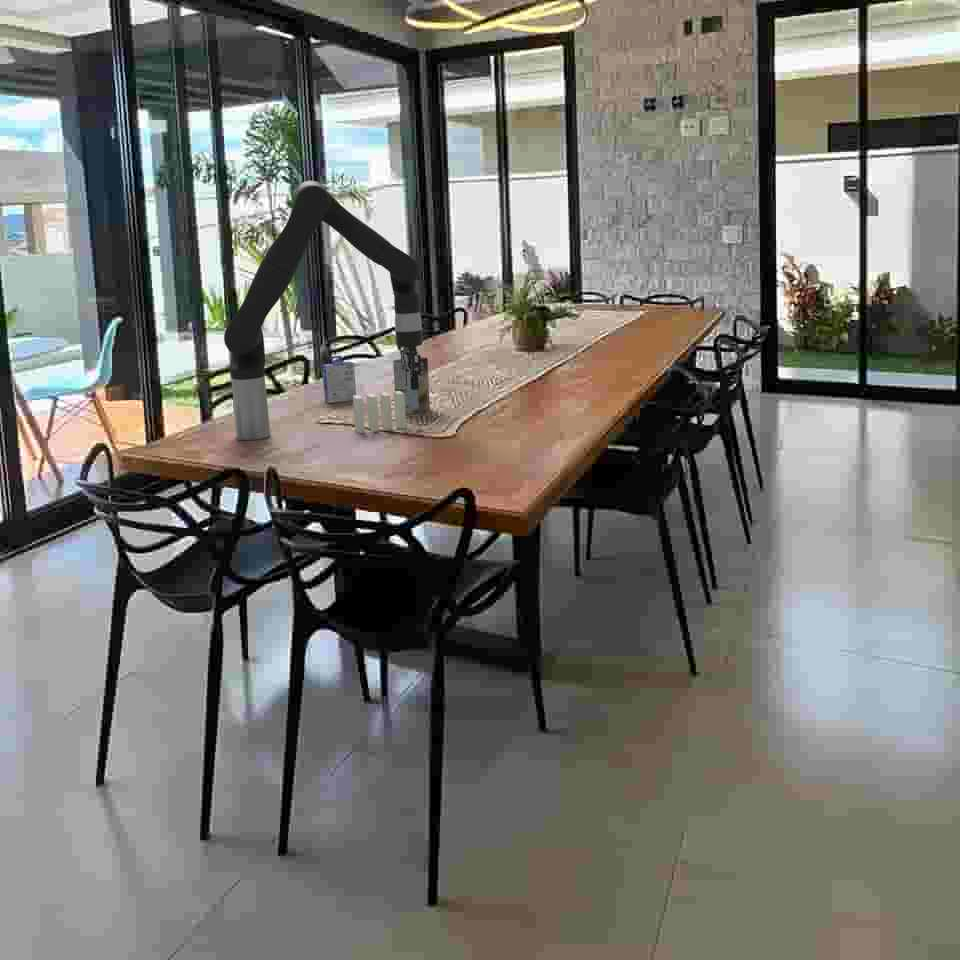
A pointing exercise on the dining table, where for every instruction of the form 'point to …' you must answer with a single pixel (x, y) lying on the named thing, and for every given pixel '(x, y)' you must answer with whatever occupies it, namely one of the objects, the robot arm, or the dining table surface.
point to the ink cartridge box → (338, 380)
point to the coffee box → (422, 380)
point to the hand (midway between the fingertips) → (412, 387)
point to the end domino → (412, 394)
